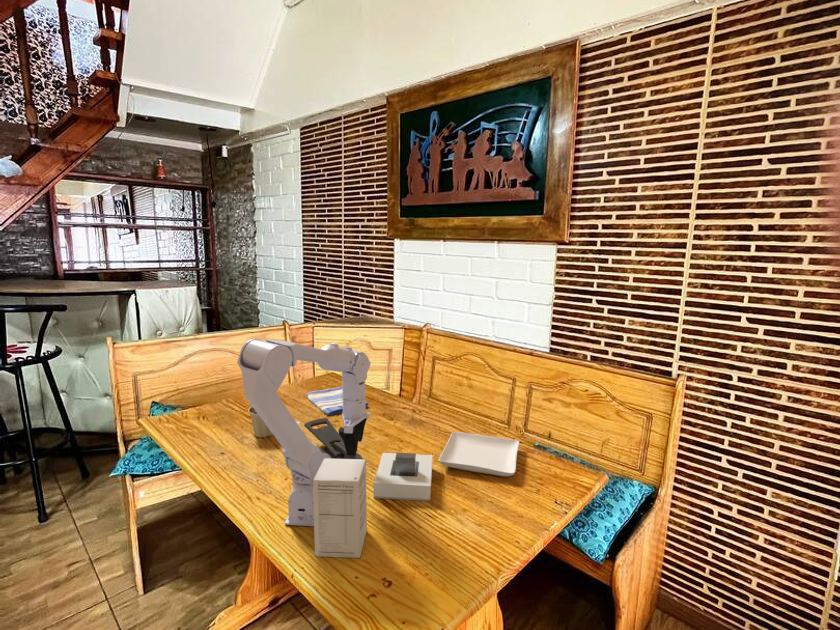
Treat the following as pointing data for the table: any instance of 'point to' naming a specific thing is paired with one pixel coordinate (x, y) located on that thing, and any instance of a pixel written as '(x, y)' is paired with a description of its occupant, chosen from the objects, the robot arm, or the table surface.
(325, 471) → the supplement box
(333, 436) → the zipper pull
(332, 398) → the dish towel
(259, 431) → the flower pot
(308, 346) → the robot arm
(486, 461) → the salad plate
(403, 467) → the bracket
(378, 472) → the well block
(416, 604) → the table surface
